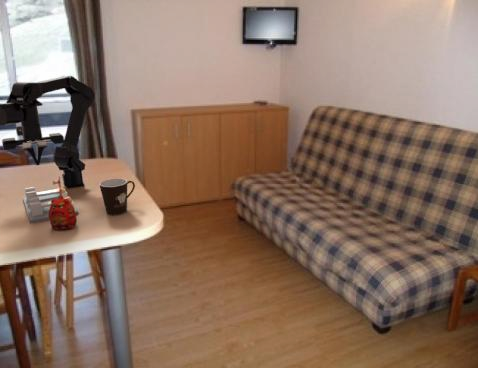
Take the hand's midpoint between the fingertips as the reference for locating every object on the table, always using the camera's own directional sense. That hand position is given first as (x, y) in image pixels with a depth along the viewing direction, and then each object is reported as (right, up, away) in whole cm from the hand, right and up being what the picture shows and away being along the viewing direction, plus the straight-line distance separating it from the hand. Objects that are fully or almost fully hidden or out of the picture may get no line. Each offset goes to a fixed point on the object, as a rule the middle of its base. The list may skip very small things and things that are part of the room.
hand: (37, 165), depth 141 cm
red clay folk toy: (+18, -20, -20) cm, 33 cm away
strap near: (+10, -13, -10) cm, 19 cm away
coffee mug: (+32, -16, -9) cm, 37 cm away
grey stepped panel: (+6, -14, -5) cm, 16 cm away
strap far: (+4, -10, 0) cm, 11 cm away
